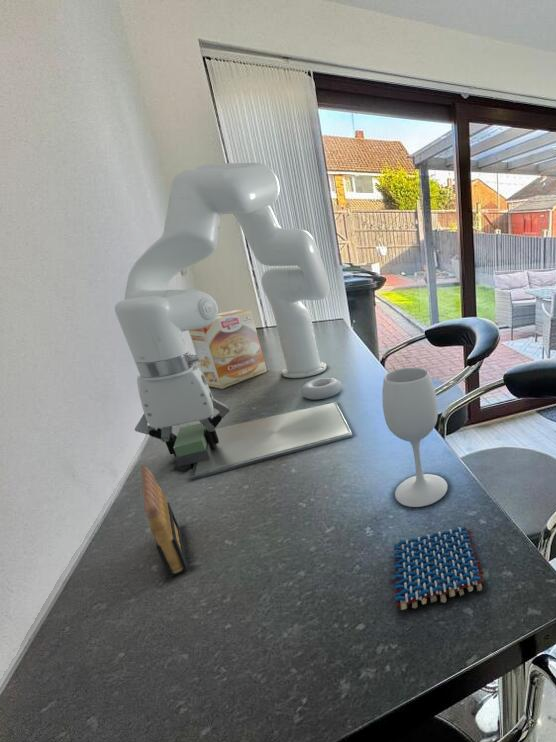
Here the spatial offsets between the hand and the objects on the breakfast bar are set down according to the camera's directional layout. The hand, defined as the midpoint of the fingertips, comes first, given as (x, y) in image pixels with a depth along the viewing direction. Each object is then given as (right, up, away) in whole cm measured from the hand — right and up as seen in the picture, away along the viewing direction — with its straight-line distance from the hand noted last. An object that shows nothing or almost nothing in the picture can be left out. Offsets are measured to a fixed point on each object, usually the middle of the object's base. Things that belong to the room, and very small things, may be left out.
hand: (196, 450), depth 79 cm
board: (+12, +2, +7) cm, 14 cm away
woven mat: (+53, -11, -28) cm, 61 cm away
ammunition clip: (+16, -10, -24) cm, 30 cm away
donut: (+12, +10, +28) cm, 32 cm away
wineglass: (+48, -5, -12) cm, 50 cm away
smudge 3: (+1, -3, -4) cm, 5 cm away
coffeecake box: (-19, +14, +41) cm, 47 cm away
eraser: (0, 0, 0) cm, 0 cm away
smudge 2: (-1, -2, -2) cm, 3 cm away
